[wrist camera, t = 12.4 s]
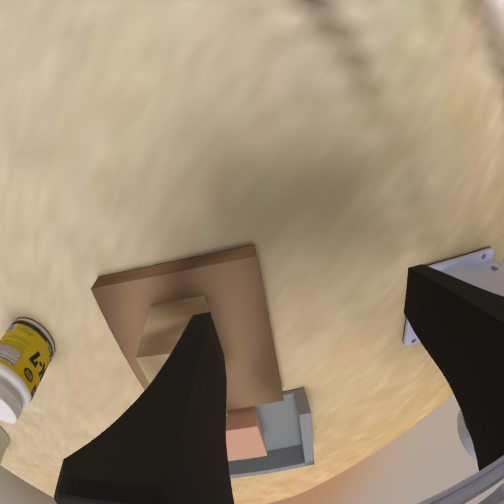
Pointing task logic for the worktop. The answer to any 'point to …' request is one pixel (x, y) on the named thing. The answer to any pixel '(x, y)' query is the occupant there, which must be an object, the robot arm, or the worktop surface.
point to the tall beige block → (165, 332)
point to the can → (3, 442)
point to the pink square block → (244, 434)
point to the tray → (281, 437)
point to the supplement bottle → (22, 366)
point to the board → (219, 304)
